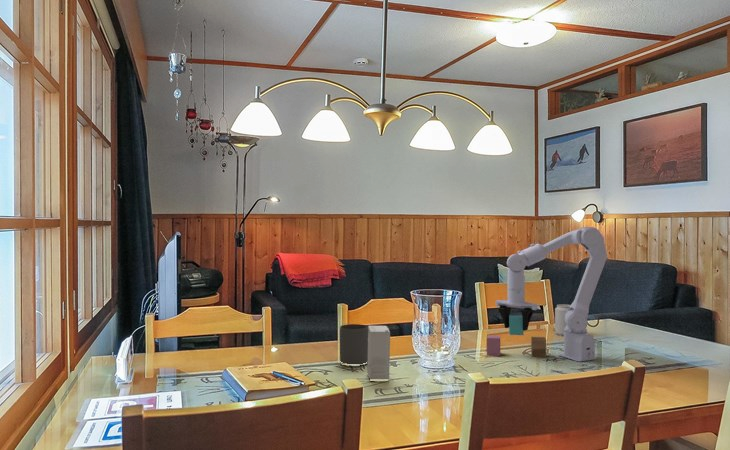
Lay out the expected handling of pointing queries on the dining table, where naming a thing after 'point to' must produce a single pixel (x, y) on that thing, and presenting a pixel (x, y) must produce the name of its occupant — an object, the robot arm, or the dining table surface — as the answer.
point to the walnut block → (538, 347)
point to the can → (560, 318)
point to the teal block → (516, 325)
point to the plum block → (493, 345)
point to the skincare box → (378, 352)
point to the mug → (354, 344)
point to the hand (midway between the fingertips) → (516, 328)
